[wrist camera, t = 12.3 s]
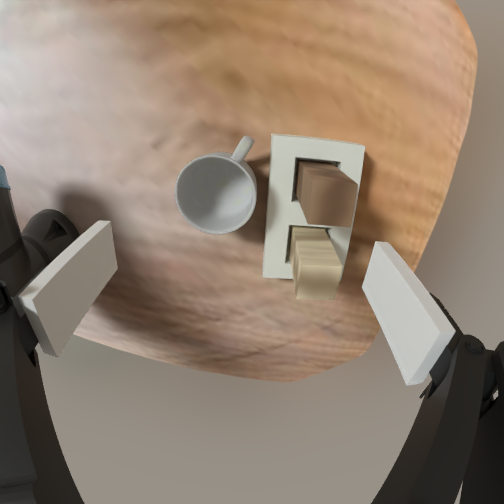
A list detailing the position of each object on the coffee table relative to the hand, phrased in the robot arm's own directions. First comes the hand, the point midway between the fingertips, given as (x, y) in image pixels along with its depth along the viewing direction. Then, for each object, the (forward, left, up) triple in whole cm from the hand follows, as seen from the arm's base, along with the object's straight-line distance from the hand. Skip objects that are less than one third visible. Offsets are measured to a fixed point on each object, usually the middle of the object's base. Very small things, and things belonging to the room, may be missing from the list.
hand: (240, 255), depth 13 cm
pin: (+9, -12, -30) cm, 34 cm away
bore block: (+9, -7, -31) cm, 33 cm away
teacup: (-4, -3, -31) cm, 32 cm away
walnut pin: (+9, -2, -31) cm, 32 cm away
